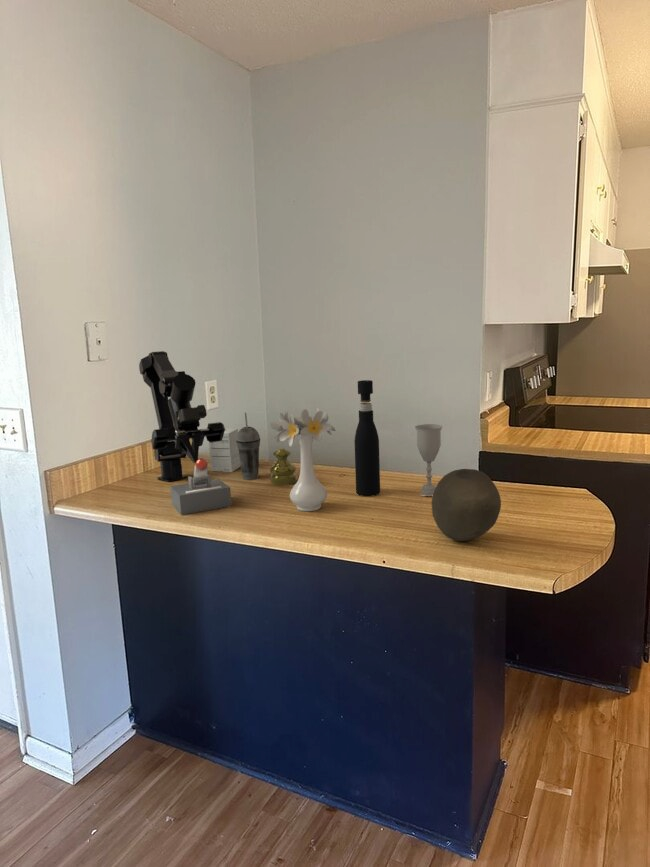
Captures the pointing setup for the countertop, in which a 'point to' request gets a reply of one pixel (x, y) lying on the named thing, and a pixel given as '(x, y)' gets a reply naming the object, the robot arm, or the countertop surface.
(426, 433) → the chalice
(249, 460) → the beverage cup
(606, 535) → the countertop surface
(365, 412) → the black bottle
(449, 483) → the dark brown ball
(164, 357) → the robot arm
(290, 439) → the flower vase
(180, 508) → the switch box
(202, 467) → the switch lever
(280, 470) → the salt shaker
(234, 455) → the supplement box
